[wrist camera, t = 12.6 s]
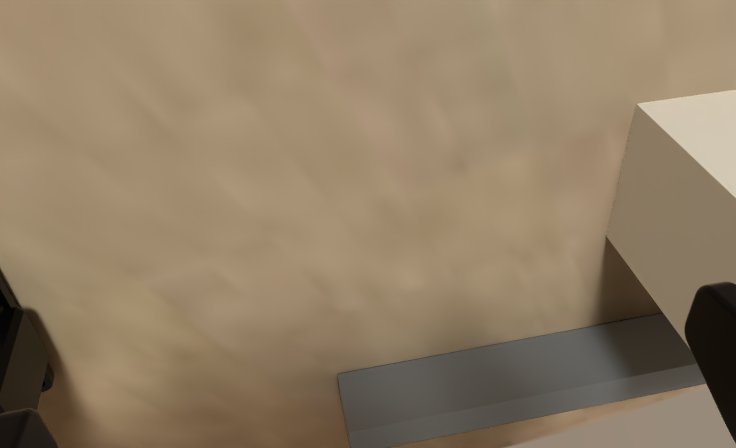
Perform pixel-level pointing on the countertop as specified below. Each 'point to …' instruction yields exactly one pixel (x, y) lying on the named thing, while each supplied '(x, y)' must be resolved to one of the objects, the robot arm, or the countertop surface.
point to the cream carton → (679, 199)
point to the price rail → (514, 381)
